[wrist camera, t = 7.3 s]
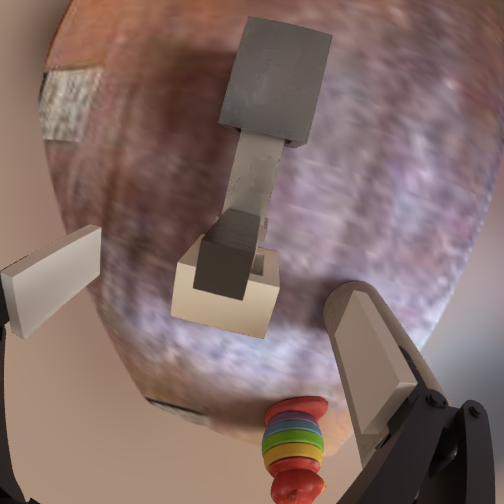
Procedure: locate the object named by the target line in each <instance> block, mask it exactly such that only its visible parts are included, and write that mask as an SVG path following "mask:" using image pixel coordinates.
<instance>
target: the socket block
mask: <svg viewBox="0 0 504 504" xmlns="http://www.w3.org/2000/svg"><path fill="white" fill-rule="evenodd" d="M205 235H206V234H201V236H200V237H199V238H198V239H197V240H196V241H195V243H194V244H193V245H192V246H191V247H190V248H189V249H188V251H187V252H186V253H185V254H184V255H183V256H182V258H181V259H180V260H179V261H178V263H177V269H176V276H175V283H174V291H173V298H172V306H171V316H174V317H177V318H181V319H185V320H188V321H192V322H196V323H199V324H203V325H207V326H211V327H215V328H219V329H223V330H227V331H231V332H235V333H239V334H243V335H248V336H252V337H257V338H261V339H264V337H265V334H266V331H267V328H268V324H269V321H270V318H271V315H272V312H273V309H274V305H275V302H276V299H277V296H278V293H279V289H280V281H279V266H278V252H275V251H271V250H267V249H263V248H259V247H258V248H257V252H256V256H255V260H254V263H253V267H252V271H251V273H250V275H249V279H248V283H247V287H246V290H245V294H244V298H243V301H240V300H236V299H232V298H228V297H224V296H220V295H216V294H212V293H208V292H205V291H201V290H197V289H193V282H194V277H195V271H196V265H197V260H198V254H199V249H200V243H201V239H202V238H203V237H204V236H205Z"/></svg>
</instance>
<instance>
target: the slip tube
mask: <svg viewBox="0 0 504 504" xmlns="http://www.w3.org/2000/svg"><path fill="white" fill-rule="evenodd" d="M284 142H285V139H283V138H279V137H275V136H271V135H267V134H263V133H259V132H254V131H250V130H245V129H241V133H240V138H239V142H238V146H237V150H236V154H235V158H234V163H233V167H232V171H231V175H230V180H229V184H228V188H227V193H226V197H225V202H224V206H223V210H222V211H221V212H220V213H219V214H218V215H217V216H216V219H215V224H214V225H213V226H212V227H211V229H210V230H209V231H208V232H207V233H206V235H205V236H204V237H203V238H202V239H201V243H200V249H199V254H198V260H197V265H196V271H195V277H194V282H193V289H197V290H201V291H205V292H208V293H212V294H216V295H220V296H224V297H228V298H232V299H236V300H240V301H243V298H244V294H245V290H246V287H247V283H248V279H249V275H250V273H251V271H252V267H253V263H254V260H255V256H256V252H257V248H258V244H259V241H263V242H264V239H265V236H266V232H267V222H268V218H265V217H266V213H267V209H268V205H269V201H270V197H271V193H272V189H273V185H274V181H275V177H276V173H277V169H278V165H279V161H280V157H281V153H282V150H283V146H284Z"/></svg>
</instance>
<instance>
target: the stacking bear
mask: <svg viewBox="0 0 504 504" xmlns="http://www.w3.org/2000/svg"><path fill="white" fill-rule="evenodd" d="M327 408H328V402H327V401H326V400H325V399H324V398H321V397H300V398H294V399H289V400H286V401H282V402H280V403H277V404H275V405H273V406H272V407H270V408H269V409H268V410H267V411H266V413H265V416H264V421H265V424H266V430H265V433H264V436H263V440H262V455H263V458H264V464H265V467H266V469H267V471H268V472H269V473H270V474H271V476H272V477H274V481H273V483H272V487H271V497H272V499H273V501H274V502H275V503H276V504H311V503H312V502H313V501H314V499H315V498H316V497H317V496H318V495H319V494H320V493H321V492H322V491H323V490H324V489H325V487H326V486H325V482H324V481H323V479H322V478H321V477H320V476H319V475H318V474H317V472H318V471H319V469H320V465H321V461H322V454H323V449H324V442H323V437H322V434H321V431H320V429H319V426H318V424H317V422H318V420H319V419H320V418H321V417H322V416H323V415H324V414H325V413H326V411H327Z"/></svg>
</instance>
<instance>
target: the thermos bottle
mask: <svg viewBox="0 0 504 504" xmlns="http://www.w3.org/2000/svg"><path fill="white" fill-rule="evenodd" d="M353 290H356V291H361V292H365V293H367V294H368V296H369V297H370V299H371V301H372V302H373V304H374V306H375V307H376V309H377V311H378V312H379V314H380V316H381V317H382V319H383V321H384V322H385V324H386V326H387V328H388V329H389V331H390V333H391V335H392V336H393V338H394V340H395V342H396V344H397V345H398V346H401V347H402V348H403V349H405V350H406V351H407V352H408V353H409V355H410V357H411V359H412V360H413V363H414V364H415V366H416V367H417V368H416V369H418V371H419V373H420V375H421V377H422V378H423V380H424V382H425V384H426V386H427V388H428V389H434V390H436V391H438V392H440V393H441V394H442V395H443V396H444V397H445V398H446V399H447V402H448V406H451V407H453V406H452V405H451V403H450V401H449V399H448V398H447V396H446V394H445V393H444V391H443V389H442V388H441V386H440V384H439V383H438V381H437V379H436V378H435V376H434V374H433V373H432V371H431V370H430V368H429V366H428V365H427V363H426V362H425V360H424V359H423V357H422V356H421V354H420V352H419V351H418V349H417V348H416V346H415V345H414V343H413V342H412V340H411V339H410V337H409V336H408V334H407V333H406V331H405V330H404V328H403V327H402V325H401V324H400V323H399V321H398V320H397V318H396V317H395V315H394V314H393V312H392V311H391V310H390V308H389V307H388V305H387V304H386V303H385V301H384V300H383V298H382V297H381V296H380V294H379V293H378V291H377V290H376V289H375V288H374V287H373V286H372V285H370V284H368V283H365V282H361V281H353V282H348V283H345V284H343V285H341V286H339V287H337V288H336V289H335V290H334V291H333V292H332V293H331V294H330V295H329V296H328V298H327V299H326V301H325V304H324V308H323V318H324V321H325V325H326V329H327V332H328V335H329V338H330V342H331V345H332V349H333V352H334V356H335V360H336V363H337V367H338V370H339V374H340V378H341V381H342V385H343V389H344V393H345V397H346V400H347V404H348V408H349V412H350V416H351V420H352V424H353V428H354V433H355V437H356V441H357V445H358V449H359V453H360V459H361V463H362V468H363V469H364V467H365V466H366V464H367V463H368V462H369V460H370V459H371V457H372V456H373V454H374V453H375V451H376V449H375V447H376V446H377V445H378V444H379V443H380V442H381V441H382V440H383V438H384V437H385V436H386V435H387V434H388V433H389V429H388V426H387V425H386V426H385V427H384V428H383V429H382V430H381V432H380V433H379V434H361V431H360V427H359V423H358V419H357V415H356V411H355V407H354V403H353V399H352V395H351V391H350V388H349V384H348V380H347V377H346V373H345V369H344V366H343V362H342V359H341V355H340V352H339V348H338V345H337V342H336V338H335V333H336V330H337V328H338V326H339V324H340V321H341V319H342V317H343V314H344V312H345V310H346V307H347V305H348V303H349V300H350V298H351V295H352V293H353ZM456 453H457V452H456ZM456 453H455V455H456ZM418 494H419V491H418V493H417V495H416V497H415V499H414V501H413V503H412V504H417V499H418Z"/></svg>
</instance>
